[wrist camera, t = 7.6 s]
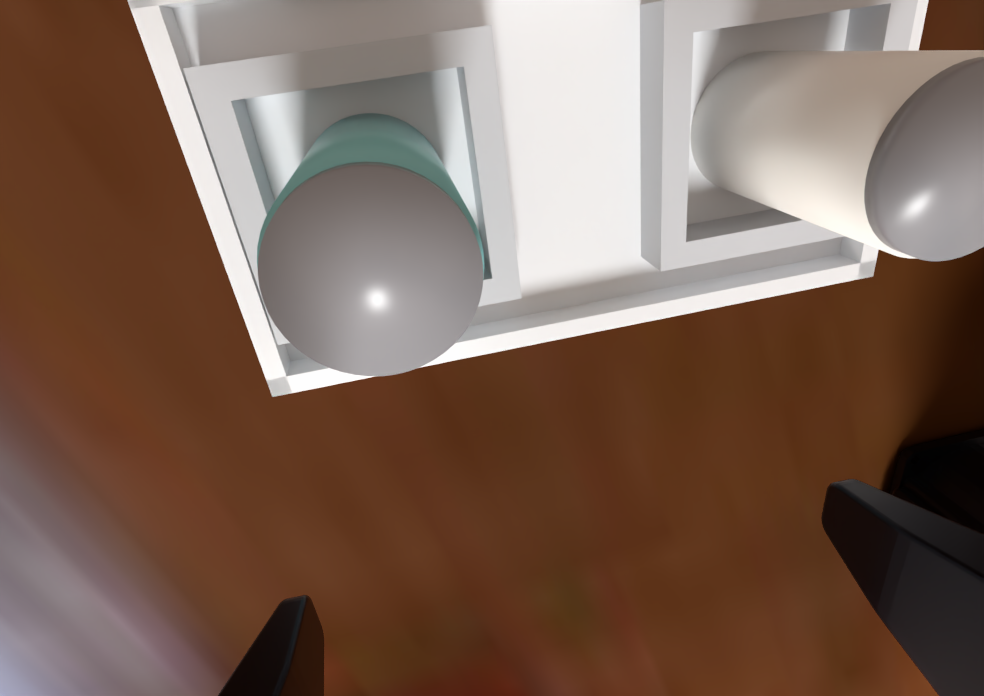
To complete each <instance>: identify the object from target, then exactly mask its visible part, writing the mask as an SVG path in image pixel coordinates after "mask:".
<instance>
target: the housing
mask: <svg viewBox="0 0 984 696" xmlns="http://www.w3.org/2000/svg"><path fill="white" fill-rule="evenodd" d="M127 1H128V3H129V6H130V9H131V12H132V14H133V17H134V20H135V22H136V25H137V28H138V31H139V33H140V36H141V39H142V42H143V44H144V47H145V50H146V53H147V55H148V58H149V61H150V63H151V66H152V69H153V72H154V74H155V77H156V80H157V83H158V85H159V88H160V91H161V94H162V96H163V99H164V102H165V105H166V107H167V110H168V113H169V115H170V118H171V121H172V124H173V126H174V129H175V132H176V135H177V137H178V140H179V143H180V146H181V148H182V151H183V154H184V156H185V159H186V162H187V165H188V167H189V170H190V173H191V176H192V178H193V181H194V184H195V187H196V189H197V192H198V195H199V197H200V200H201V203H202V206H203V208H204V211H205V214H206V217H207V219H208V222H209V225H210V228H211V230H212V233H213V236H214V238H215V241H216V244H217V247H218V249H219V252H220V255H221V258H222V260H223V263H224V266H225V269H226V271H227V274H228V277H229V279H230V282H231V285H232V288H233V290H234V293H235V296H236V299H237V301H238V304H239V307H240V310H241V312H242V315H243V318H244V320H245V323H246V326H247V329H248V331H249V334H250V337H251V340H252V342H253V345H254V348H255V351H256V353H257V356H258V359H259V361H260V364H261V367H262V370H263V372H264V375H265V378H266V381H267V383H268V386H269V389H270V392H271V394H272V397H275V396H280V395H285V394H290V393H295V392H300V391H305V390H310V389H315V388H320V387H325V386H330V385H334V384H339V383H344V382H349V381H354V380H359V379H364V378H369V377H374V376H361V375H353V374H349V373H344V372H340V371H337V370H334V369H331V368H328V367H326V366H324V365H322V364H320V363H317V362H316V361H314V360H312V359H311V358H309V357H307V356H306V355H304V354H303V353H302V352H300V351H299V350H298V349H297V348H295V347H294V346H293V345H292V344H291V343H290V342H289V341H288V340H287V339H286V338H285V337H284V336H283V335H282V333H281V332H280V331H279V329H278V328H277V327H276V326H275V324H274V322H273V320H272V319H271V317H270V315H269V314H268V311H267V309H266V307H265V304H264V302H263V299H262V295H261V291H260V287H259V280H258V268H257V246H258V241H259V236H260V231H261V229H262V226H263V223H264V220H265V218H266V216H267V214H268V212H269V210H270V208H271V206H272V205H273V203H274V202H275V200H276V199H277V197H278V196H279V194H280V193H281V191H282V190H283V188H284V187H285V185H286V184H287V182H288V181H289V179H290V178H291V176H292V175H293V174H294V172H295V171H296V169H297V168H298V166H299V165H300V163H301V162H302V160H303V159H304V157H305V156H306V154H307V153H308V151H309V150H310V148H311V147H312V145H313V144H314V143H315V141H316V140H317V138H318V137H319V136H320V135H321V134H322V133H323V132H324V131H325V130H326V129H327V128H329V127H330V126H331V125H332V124H334V123H336V122H338V121H339V120H341V119H344V118H346V117H349V116H352V115H357V114H364V113H378V114H384V115H389V116H392V117H395V118H398V119H400V120H402V121H404V122H406V123H408V124H410V125H411V126H413V127H414V128H416V129H417V130H418V131H419V132H420V133H422V134H423V135H424V136H425V137H426V139H427V140H428V141H429V142H430V143H431V145H432V146H433V148H434V149H435V151H436V152H437V154H438V156H439V158H440V160H441V161H442V163H443V165H444V167H445V169H446V170H447V172H448V174H449V176H450V178H451V179H452V181H453V183H454V185H455V187H456V188H457V190H458V192H459V194H460V196H461V197H462V199H463V201H464V203H465V205H466V206H467V208H468V210H469V212H470V214H471V216H472V218H473V220H474V222H475V224H476V226H477V229H478V232H479V235H480V237H481V241H482V246H483V251H484V279H483V288H482V293H481V298H480V302H479V305H478V308H477V310H476V313H475V315H474V317H473V319H472V321H471V323H470V325H469V326H468V328H467V329H466V331H465V332H464V333H463V335H462V336H461V337H460V338H459V339H458V341H457V342H456V343H455V344H454V345H453V346H452V347H451V348H449V349H448V350H447V351H446V352H445V353H444V354H442V355H441V356H439V357H438V358H436V359H435V360H433V361H431V362H429V363H427V364H425V365H423V366H421V367H424V366H429V365H434V364H439V363H444V362H449V361H454V360H459V359H464V358H469V357H474V356H479V355H484V354H489V353H494V352H499V351H504V350H509V349H514V348H519V347H524V346H529V345H534V344H539V343H544V342H549V341H554V340H559V339H563V338H568V337H573V336H578V335H583V334H588V333H593V332H598V331H603V330H608V329H613V328H618V327H623V326H628V325H633V324H638V323H643V322H648V321H653V320H658V319H663V318H668V317H673V316H678V315H683V314H688V313H693V312H698V311H703V310H708V309H713V308H718V307H723V306H728V305H733V304H738V303H743V302H748V301H753V300H758V299H763V298H768V297H773V296H778V295H783V294H788V293H792V292H797V291H802V290H807V289H812V288H817V287H822V286H827V285H832V284H837V283H842V282H847V281H852V280H857V279H862V278H867V277H872V276H873V275H874V270H875V265H876V260H877V255H878V250H879V249H877V248H874V247H872V246H869V245H867V244H864V243H862V242H859V241H856V240H854V239H851V238H849V237H846V236H844V235H841V234H838V233H836V232H833V231H831V230H828V229H826V228H823V227H820V226H818V225H815V224H813V223H810V222H808V221H805V220H802V219H800V218H797V217H795V216H792V215H790V214H787V213H784V212H782V211H779V210H777V209H774V208H772V207H769V206H766V205H764V204H761V203H759V202H756V201H754V200H751V199H748V198H746V197H743V196H741V195H738V194H736V193H733V192H730V191H728V190H725V189H723V188H720V187H718V186H716V185H714V184H712V183H711V182H710V181H708V180H707V179H706V178H705V177H704V176H703V175H702V173H701V172H700V170H699V169H698V167H697V165H696V163H695V161H694V158H693V154H692V149H691V137H690V134H691V125H692V120H693V115H694V112H695V109H696V106H697V104H698V102H699V99H700V97H701V96H702V94H703V92H704V90H705V89H706V87H707V86H708V85H709V83H710V82H711V80H712V79H713V78H714V77H715V76H716V75H717V74H718V73H719V72H720V71H721V70H722V69H723V68H724V67H726V66H727V65H728V64H730V63H731V62H733V61H734V60H736V59H738V58H740V57H742V56H745V55H747V54H750V53H755V52H762V51H918V50H919V45H920V40H921V35H922V30H923V25H924V20H925V15H926V10H927V5H928V0H127Z"/></svg>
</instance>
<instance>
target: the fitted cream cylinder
mask: <svg viewBox="0 0 984 696" xmlns="http://www.w3.org/2000/svg"><path fill="white" fill-rule="evenodd" d="M690 137H691V149H692V154H693V158H694V161H695V163H696V165H697V167H698V169H699V170H700V172H701V173H702V175H703V176H704V177H705V178H706V179H707V180H708V181H710V182H711V183H712V184H714V185H716V186H718V187H720V188H723V189H725V190H728V191H730V192H733V193H736V194H738V195H741V196H743V197H746V198H748V199H751V200H754V201H756V202H759V203H761V204H764V205H766V206H769V207H772V208H774V209H777V210H779V211H782V212H784V213H787V214H790V215H792V216H795V217H797V218H800V219H802V220H805V221H808V222H810V223H813V224H815V225H818V226H820V227H823V228H826V229H828V230H831V231H833V232H836V233H838V234H841V235H844V236H846V237H849V238H851V239H854V240H856V241H859V242H862V243H864V244H867V245H869V246H872V247H874V248H877V249H879V250H882V251H885V252H887V253H890V254H893V255H895V256H898V257H904V258H918V259H920V260H926V261H945V260H951V259H955V258H959V257H962V256H965V255H967V254H970V253H972V252H974V251H976V250H978V249H980V248H982V247H984V50H939V51H762V52H755V53H750V54H747V55H745V56H742V57H740V58H738V59H736V60H734V61H733V62H731V63H730V64H728V65H727V66H726V67H724V68H723V69H722V70H721V71H720V72H719V73H718V74H717V75H716V76H715V77H714V78H713V79H712V80H711V82H710V83H709V85H708V86H707V87H706V89H705V90H704V92H703V94H702V96H701V97H700V99H699V102H698V104H697V106H696V109H695V112H694V115H693V120H692V125H691V134H690Z"/></svg>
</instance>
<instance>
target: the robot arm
mask: <svg viewBox="0 0 984 696" xmlns="http://www.w3.org/2000/svg"><path fill="white" fill-rule="evenodd" d="M822 524H823V528H824V530H825V532H826V534H827V535H828V537H829V539H830V540H831V542H832V543H833V545H834V547H835V548H836V550H837V551H838V553H839V555H840V556H841V558H842V559H843V561H844V563H845V564H846V566H847V567H848V569H849V571H850V572H851V574H852V575H853V577H854V579H855V580H856V582H857V583H858V585H859V587H860V588H861V590H862V591H863V593H864V595H865V596H866V598H867V599H868V601H869V602H870V604H871V605H872V607H873V608H874V610H875V611H876V613H877V614H878V616H879V617H880V618H881V620H882V621H883V622H884V624H885V625H886V627H887V628H888V629H889V630H890V632H891V633H892V634H893V636H894V637H895V638H896V640H897V641H898V642H899V644H900V645H901V646H902V648H903V649H904V650H905V652H906V653H907V654H908V655H909V657H910V658H911V659H912V661H913V662H914V663H915V665H916V666H917V667H918V669H919V670H920V671H921V673H922V674H923V675H924V676H925V678H926V679H927V680H928V682H929V683H930V684H931V686H932V687H933V688H934V690H935V691H936V692H937V694H938V695H939V696H984V429H983V430H979V431H975V432H970V433H966V434H962V435H958V436H953V437H949V438H945V439H941V440H936V441H932V442H928V443H924V444H920V445H915V446H911V447H908V448H906V449H905V450H904V451H903V452H902V453H901V454H900V456H899V459H898V463H897V466H896V470H895V474H894V478H893V481H892V485H891V489H890V493H886V492H884V491H882V490H879V489H877V488H875V487H872V486H870V485H868V484H865V483H863V482H861V481H858V480H855V479H848V480H843V481H839V482H834V483H831V484H830V485H829V486H828V488H827V492H826V497H825V502H824V507H823V512H822ZM218 696H324V635H323V630H322V626H321V624H320V621H319V618H318V616H317V613H316V610H315V608H314V605H313V603H312V600H311V598H310V597H309V596H307V595H303V596H298V597H293V598H288V599H285V600H283V601H282V602H281V603H280V604H279V605H278V607H277V608H276V610H275V611H274V613H273V614H272V616H271V617H270V619H269V620H268V622H267V623H266V625H265V626H264V628H263V629H262V631H261V632H260V634H259V635H258V637H257V638H256V640H255V641H254V643H253V644H252V645H251V647H250V648H249V650H248V651H247V653H246V654H245V656H244V657H243V659H242V660H241V662H240V663H239V665H238V666H237V668H236V669H235V671H234V672H233V674H232V675H231V677H230V678H229V680H228V681H227V683H226V684H225V686H224V687H223V689H222V690H221V692H220V693H219V695H218Z"/></svg>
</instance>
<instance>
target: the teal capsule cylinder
mask: <svg viewBox="0 0 984 696" xmlns="http://www.w3.org/2000/svg"><path fill="white" fill-rule="evenodd" d="M257 268H258V280H259V287H260V291H261V295H262V299H263V302H264V304H265V307H266V309H267V311H268V314H269V315H270V317H271V319H272V320H273V322H274V324H275V326H276V327H277V328H278V329H279V331H280V332H281V333H282V335H283V336H284V337H285V338H286V339H287V340H288V341H289V342H290V343H291V344H292V345H293V346H294V347H295V348H297V349H298V350H299V351H300V352H302V353H303V354H304V355H306V356H307V357H309V358H311V359H312V360H314V361H316V362H317V363H320V364H322V365H324V366H326V367H328V368H331V369H334V370H337V371H340V372H344V373H349V374H353V375H361V376H387V375H394V374H399V373H403V372H407V371H411V370H413V369H416V368H419V367H421V366H423V365H425V364H427V363H429V362H431V361H433V360H435V359H436V358H438V357H439V356H441V355H442V354H444V353H445V352H446V351H447V350H448V349H449V348H451V347H452V346H453V345H454V344H455V343H456V342H457V341H458V339H459V338H460V337H461V336H462V335H463V333H464V332H465V331H466V329H467V328H468V326H469V325H470V323H471V321H472V319H473V317H474V315H475V313H476V310H477V308H478V305H479V302H480V298H481V293H482V288H483V279H484V251H483V246H482V241H481V237H480V235H479V232H478V229H477V226H476V224H475V222H474V220H473V218H472V216H471V214H470V212H469V210H468V208H467V206H466V205H465V203H464V201H463V199H462V197H461V196H460V194H459V192H458V190H457V188H456V187H455V185H454V183H453V181H452V179H451V178H450V176H449V174H448V172H447V170H446V169H445V167H444V165H443V163H442V161H441V160H440V158H439V156H438V154H437V152H436V151H435V149H434V148H433V146H432V145H431V143H430V142H429V141H428V140H427V139H426V137H425V136H424V135H423V134H422V133H420V132H419V131H418V130H417V129H416V128H414V127H413V126H411V125H410V124H408V123H406V122H404V121H402V120H400V119H398V118H395V117H392V116H389V115H384V114H378V113H364V114H357V115H352V116H349V117H346V118H344V119H341V120H339V121H338V122H336V123H334V124H332V125H331V126H330V127H329V128H327V129H326V130H325V131H324V132H323V133H322V134H321V135H320V136H319V137H318V138H317V140H316V141H315V143H314V144H313V145H312V147H311V148H310V150H309V151H308V153H307V154H306V156H305V157H304V159H303V160H302V162H301V163H300V165H299V166H298V168H297V169H296V171H295V172H294V174H293V175H292V176H291V178H290V179H289V181H288V182H287V184H286V185H285V187H284V188H283V190H282V191H281V193H280V194H279V196H278V197H277V199H276V200H275V202H274V203H273V205H272V206H271V208H270V210H269V212H268V214H267V216H266V218H265V220H264V223H263V226H262V229H261V231H260V236H259V241H258V246H257Z"/></svg>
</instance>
